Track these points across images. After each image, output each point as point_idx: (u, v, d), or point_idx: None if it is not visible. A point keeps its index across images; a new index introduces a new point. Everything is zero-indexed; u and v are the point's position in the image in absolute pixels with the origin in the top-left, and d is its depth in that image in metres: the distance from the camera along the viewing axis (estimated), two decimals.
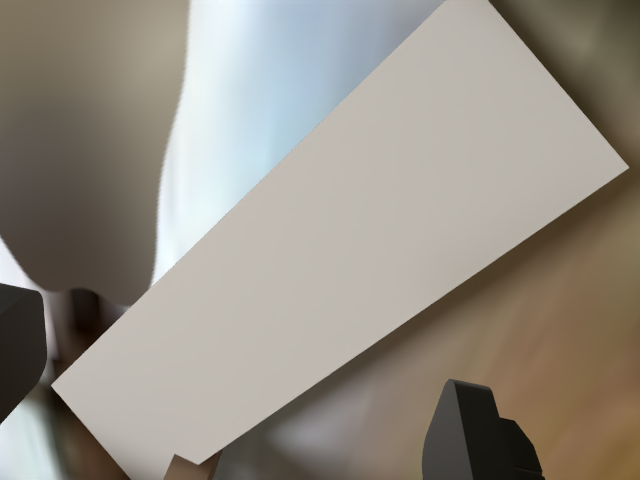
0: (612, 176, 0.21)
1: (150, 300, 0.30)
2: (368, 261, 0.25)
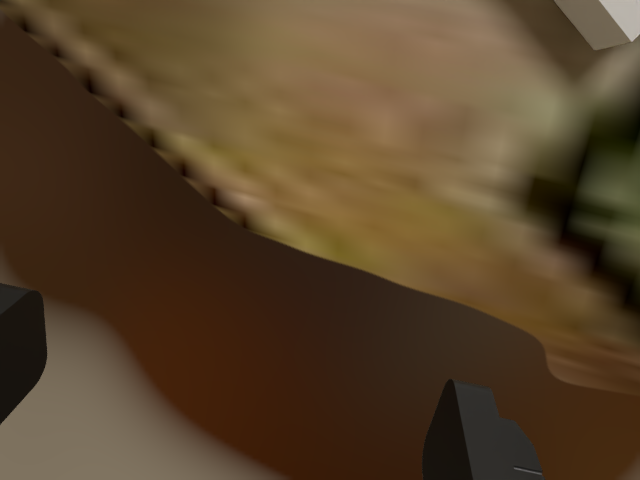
0: (627, 33, 0.35)
1: None
2: None
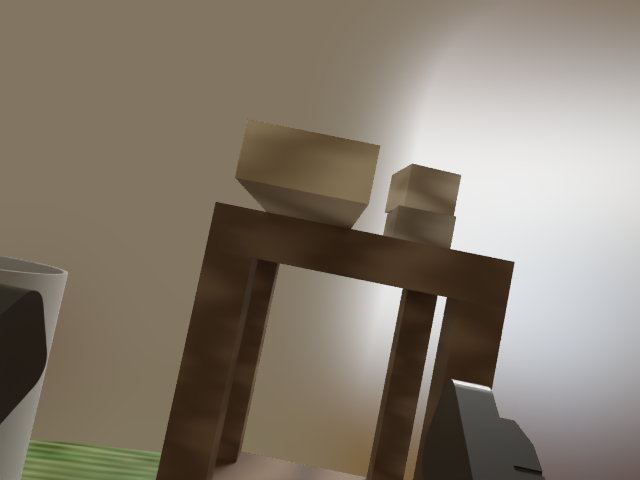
0: None
1: None
2: None
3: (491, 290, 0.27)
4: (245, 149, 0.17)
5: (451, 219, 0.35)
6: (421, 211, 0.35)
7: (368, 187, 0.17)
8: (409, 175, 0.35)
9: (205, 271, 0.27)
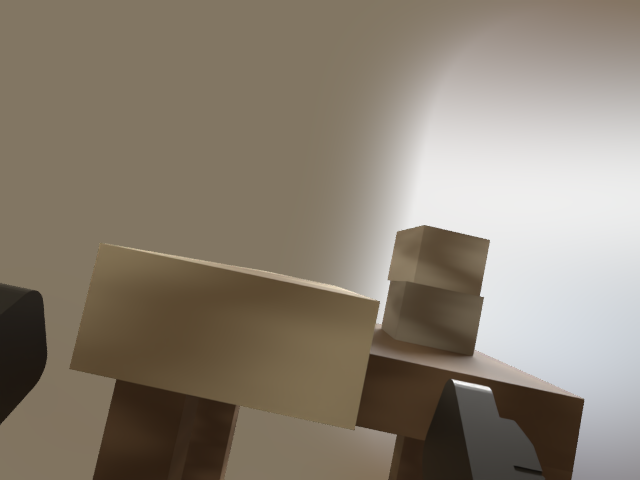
0: None
1: None
2: None
3: (549, 443, 0.17)
4: (93, 307, 0.08)
5: (477, 301, 0.26)
6: (437, 289, 0.26)
7: (354, 393, 0.08)
8: (420, 240, 0.26)
9: (116, 410, 0.18)
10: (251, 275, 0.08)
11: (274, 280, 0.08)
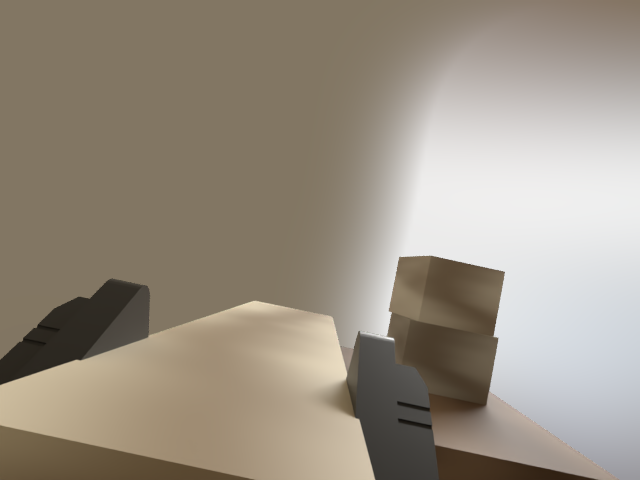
0: None
1: None
2: None
3: None
4: None
5: (491, 342, 0.23)
6: (445, 329, 0.23)
7: None
8: (426, 273, 0.23)
9: None
10: (172, 462, 0.05)
11: (209, 470, 0.05)
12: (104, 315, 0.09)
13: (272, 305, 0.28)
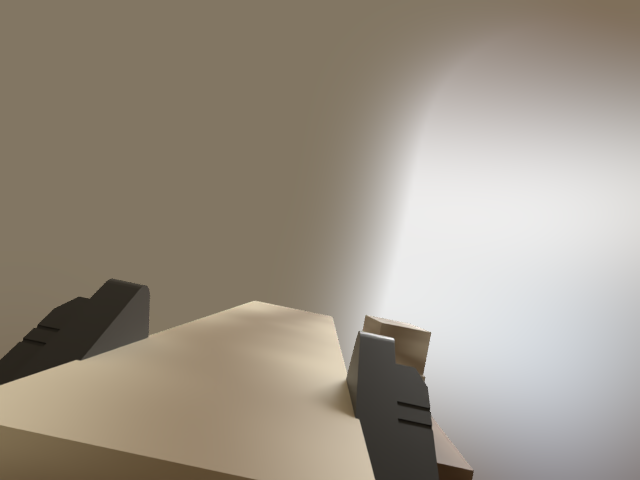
0: None
1: None
2: None
3: None
4: None
5: None
6: None
7: None
8: (378, 333, 0.35)
9: None
10: (173, 461, 0.05)
11: (210, 470, 0.05)
12: (104, 315, 0.09)
13: (272, 305, 0.28)
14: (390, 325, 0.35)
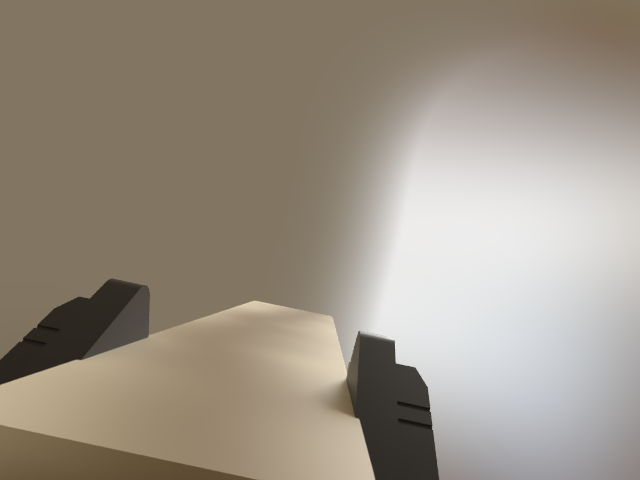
0: None
1: None
2: None
3: None
4: None
5: None
6: None
7: None
8: None
9: None
10: (173, 461, 0.05)
11: (210, 470, 0.05)
12: (104, 315, 0.09)
13: (272, 305, 0.28)
14: None
